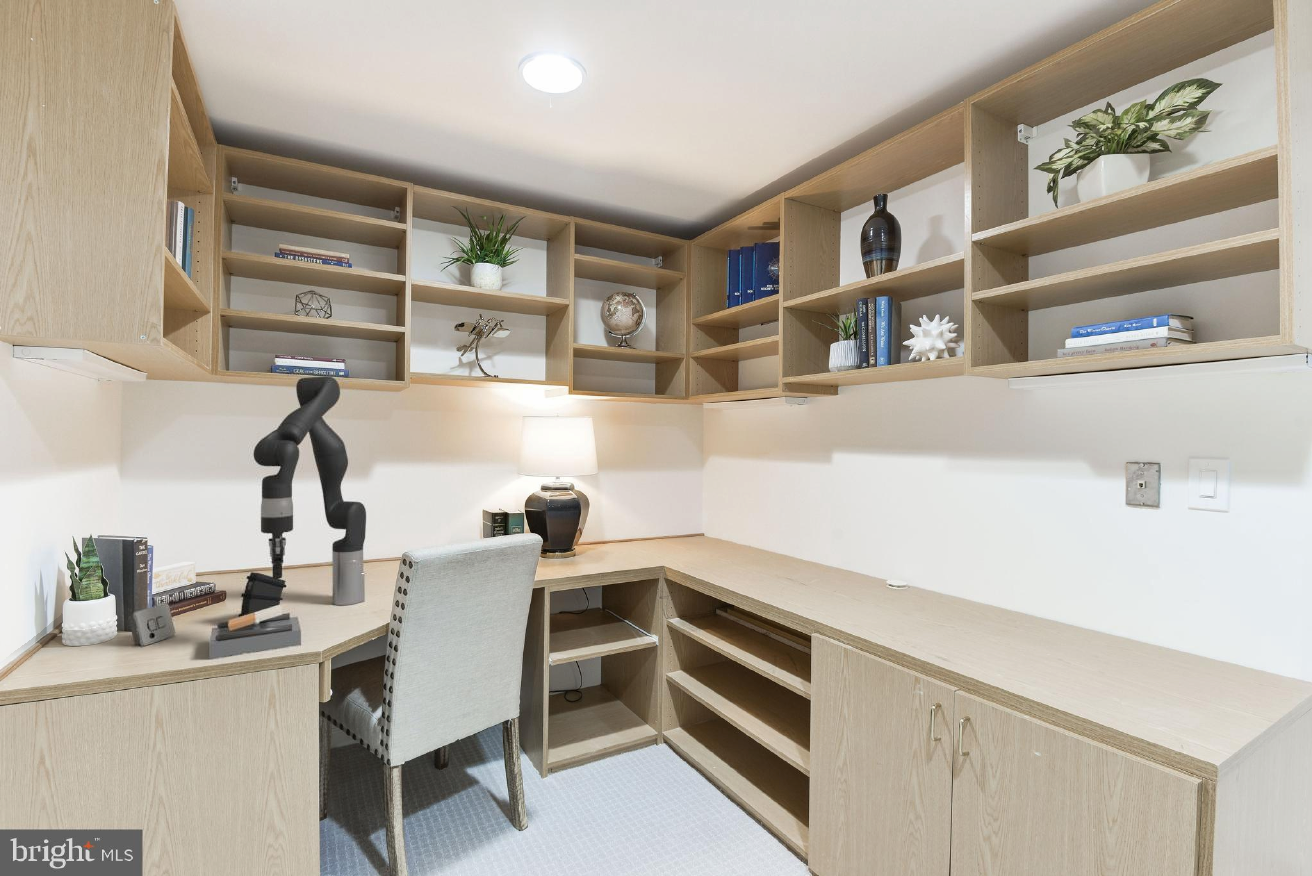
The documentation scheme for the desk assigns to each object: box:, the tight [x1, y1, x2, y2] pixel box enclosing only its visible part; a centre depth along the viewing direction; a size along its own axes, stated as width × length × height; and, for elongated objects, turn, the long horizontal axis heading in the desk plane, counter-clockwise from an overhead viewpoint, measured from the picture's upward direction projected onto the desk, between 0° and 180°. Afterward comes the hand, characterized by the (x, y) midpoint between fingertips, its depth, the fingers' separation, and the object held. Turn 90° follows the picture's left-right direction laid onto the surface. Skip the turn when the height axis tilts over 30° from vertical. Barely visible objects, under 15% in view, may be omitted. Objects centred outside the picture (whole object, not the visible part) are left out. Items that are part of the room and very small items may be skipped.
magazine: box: [238, 571, 287, 617], centre depth 190 cm, size 4×13×15 cm, turn 164°
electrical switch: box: [127, 603, 177, 647], centre depth 173 cm, size 9×5×9 cm, turn 169°
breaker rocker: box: [228, 604, 283, 631], centre depth 170 cm, size 12×6×2 cm, turn 122°
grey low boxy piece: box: [208, 612, 302, 660], centre depth 171 cm, size 20×14×6 cm
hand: (277, 578), depth 173 cm, fingers closed
